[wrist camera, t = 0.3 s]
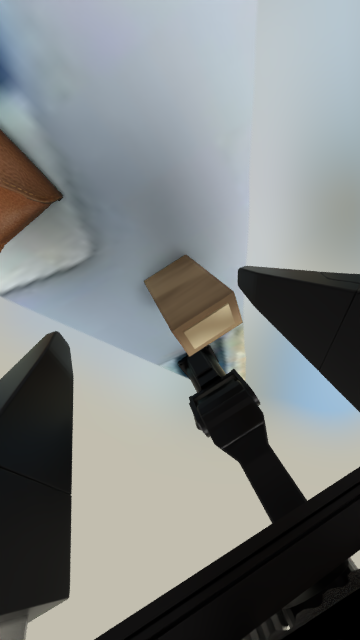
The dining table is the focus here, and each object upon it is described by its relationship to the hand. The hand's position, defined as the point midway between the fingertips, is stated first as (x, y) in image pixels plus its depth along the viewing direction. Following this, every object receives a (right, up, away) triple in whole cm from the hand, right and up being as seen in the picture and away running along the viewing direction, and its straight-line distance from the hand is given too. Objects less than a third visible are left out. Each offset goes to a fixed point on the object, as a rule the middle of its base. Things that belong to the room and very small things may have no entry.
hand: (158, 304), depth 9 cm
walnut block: (0, +4, +15) cm, 16 cm away
